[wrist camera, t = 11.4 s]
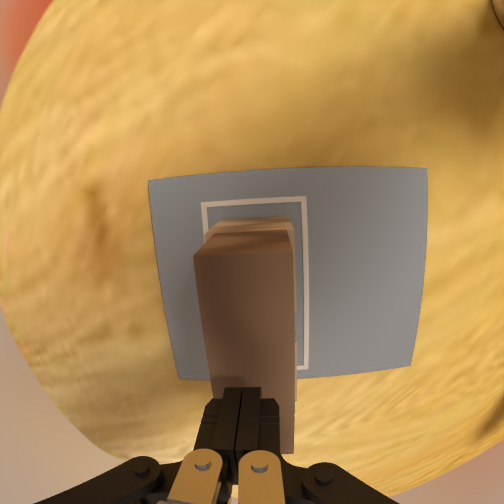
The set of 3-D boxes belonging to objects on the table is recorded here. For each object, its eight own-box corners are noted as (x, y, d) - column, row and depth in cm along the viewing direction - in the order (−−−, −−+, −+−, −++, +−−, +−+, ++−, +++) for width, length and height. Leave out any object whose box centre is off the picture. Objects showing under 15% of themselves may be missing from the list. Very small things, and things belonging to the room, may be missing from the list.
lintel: (286, 229, 17) (292, 250, 12) (290, 401, 20) (293, 453, 15) (214, 233, 17) (192, 255, 13) (233, 402, 20) (224, 454, 15)
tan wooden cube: (288, 215, 23) (294, 229, 17) (290, 280, 24) (296, 312, 18) (220, 219, 23) (204, 234, 17) (226, 283, 24) (213, 315, 19)
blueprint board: (422, 168, 22) (427, 168, 21) (407, 361, 26) (410, 366, 25) (151, 180, 24) (147, 180, 23) (181, 374, 28) (178, 379, 27)
